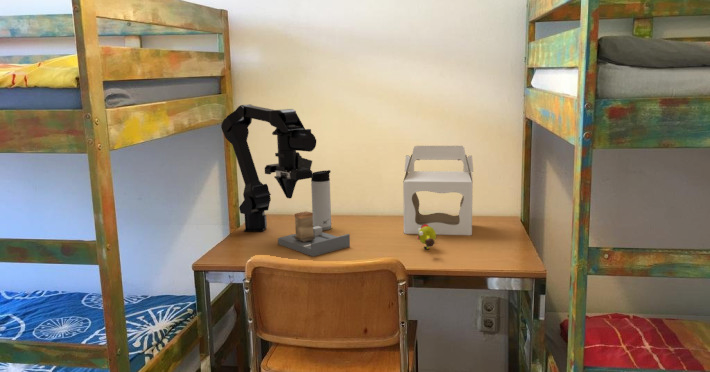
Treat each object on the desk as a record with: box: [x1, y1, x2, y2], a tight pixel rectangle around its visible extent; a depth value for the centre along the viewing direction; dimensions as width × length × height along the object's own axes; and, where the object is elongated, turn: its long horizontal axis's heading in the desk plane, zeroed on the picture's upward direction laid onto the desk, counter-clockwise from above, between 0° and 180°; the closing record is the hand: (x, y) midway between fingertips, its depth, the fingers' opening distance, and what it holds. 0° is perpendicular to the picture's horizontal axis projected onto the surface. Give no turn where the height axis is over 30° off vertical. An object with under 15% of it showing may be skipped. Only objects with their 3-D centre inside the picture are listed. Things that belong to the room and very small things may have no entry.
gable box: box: [402, 145, 474, 236], centre depth 195 cm, size 22×13×28 cm, turn 79°
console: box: [277, 226, 351, 257], centre depth 182 cm, size 18×14×4 cm
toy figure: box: [416, 224, 437, 251], centre depth 176 cm, size 18×6×7 cm, turn 178°
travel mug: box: [310, 169, 332, 232], centre depth 200 cm, size 6×7×20 cm
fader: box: [294, 210, 315, 242], centre depth 181 cm, size 5×4×8 cm
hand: (289, 198), depth 190 cm, fingers closed
